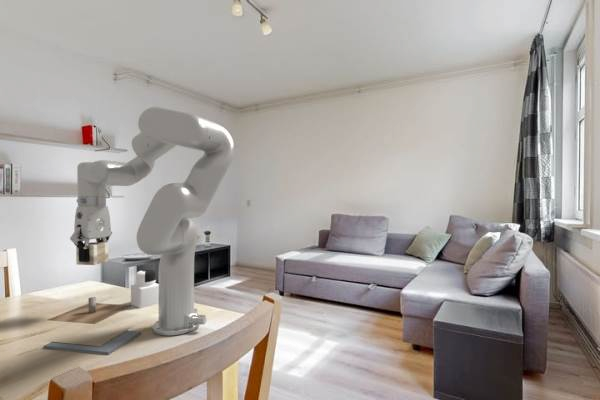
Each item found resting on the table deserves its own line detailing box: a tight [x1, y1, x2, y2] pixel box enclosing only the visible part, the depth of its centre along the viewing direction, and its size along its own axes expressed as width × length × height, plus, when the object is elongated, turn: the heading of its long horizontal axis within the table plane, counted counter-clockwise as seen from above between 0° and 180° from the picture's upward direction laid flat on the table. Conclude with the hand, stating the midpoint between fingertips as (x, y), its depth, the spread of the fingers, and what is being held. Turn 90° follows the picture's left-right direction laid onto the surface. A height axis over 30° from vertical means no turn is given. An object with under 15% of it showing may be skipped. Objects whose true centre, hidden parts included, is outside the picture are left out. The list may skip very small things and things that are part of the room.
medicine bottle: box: [130, 269, 159, 309], centre depth 113 cm, size 7×7×12 cm
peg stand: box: [47, 296, 133, 325], centre depth 104 cm, size 16×16×5 cm
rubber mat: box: [43, 330, 142, 355], centre depth 86 cm, size 18×12×1 cm, turn 80°
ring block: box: [75, 241, 109, 266], centre depth 104 cm, size 6×6×6 cm
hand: (92, 259), depth 104 cm, fingers closed on ring block, 6 cm apart
